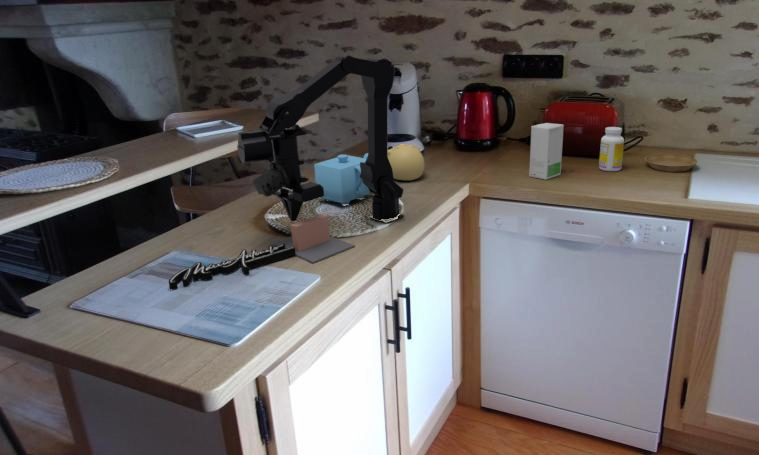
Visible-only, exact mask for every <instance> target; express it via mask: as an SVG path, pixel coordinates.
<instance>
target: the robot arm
mask: <svg viewBox="0 0 759 455" xmlns="http://www.w3.org/2000/svg"><path fill="white" fill-rule="evenodd" d="M395 69H396V68H395V65H394V64H393V63H392V62H391V60H389V59H387V58H382V57H381V58H379V57H367V58H366V59H364V58H358V57H354V56H352V55H348V54H339V55H337V56H336V57H335V58H334V60H332V61H330V63H328V64H327V65H326V66H325V67H323V68H322V69H320V71H318V72H317V73H315V75H313V76H312V77H311V78H309V79H308V80H307V81H306V82H304V83H303V84H302V85H300V86H299V87H298V88H297V89H294V90H292V91H290V92H288V93H284V94H282V95H280V96H279V97H277V98H274V99H272V100H271V101H270V102H269V103H268V104H267V105H266V107H265V108H266V109H265V116H264V117H263V119H262V121H261V123H260V125H259V126H258V127H257V129H258V130H251V131H239V132H238V139H237V146H236V148H237V152H238V153H237V154H238V156H239V157H238V158H239V160H240V163H241V164H242V165H243V164H250V163H256V162H262V161H268V160H269V158H271V157H272V156H273V160H272V161H270V163H269V170H267V171H265V172H263V173H262V174H260V175H259V176H257V177H256V178H254V180H252V184H253V186H254V188H255V189H256V191H257V194H258V195H262V196H264V197H271V196H275V197H276V198H277V199H279V200H280V201H281V203H282V205H283V207H284V209H285V211H286V214H287V215H288V217H289V218H288V219H289V220H290V221H291V222H295V221H297V219H298V217H299V214H300V211H301V208H302V206H303V204H304V203H307V202H310V201H314V200H317V199H319V198H320V197H323V196H324V187H322V186H321V185H320V184H317V183H316V182H313V181H309V182H306V176H302V171H301V165H304V164H305V162H304V159H303V158H300V153H299V140H298V137H301V136H305V135H307V131H305V130H304V129H302V127H301V126H300V125H299V124H297V123H298V122H299V121H300V120H301V118H303V116H304V115H305V113H306V112H307V110H308V108H309V107H310V106H311V105H312V104H314V102H315V101H317V100H318V99H319V98H320V97H322V96H323V95H325V93H326V92H328V91H330V89H331V88H334V86H335V85H337V84H338V83H339V82H341V81H342V80H343V79H344V78H346V77H347V76H348V75H351V74H352V75H357V76H361V81H362V82H361V83H362V87H363V88H364V92H365V93H366V98H367V140H368V141H367V151H368V152H367V153H368V157H367V159H366V161H365V162H360V168H361V174H360V178H361V179H362V182H363V184H364V185H365V186H366V187H368V188H369V191H370V192H371V193H370V194H373V196H372V202H371V208H372V209H371V210H372V215H373V218H375V219H378V220H381V219H389V218H394V217H396V216H397V215H398V214H400V215H399V216H398V219H397V220H399V219H403V218H404V217H405V216H404V214H403V213H400V199H401V198H402V196H403V194H404V189H403V188H402V187H401V186H400V185H399V184H398V183H397V182H395V179H394V176H393V170H392V167H391V164H390V162H389V159H388V156H387V150H388V99H389V95H390V93H391V90H392V88H393V87H394V80H395V75H396V74H395V73H396V71H395ZM304 182H306V183H304Z"/></svg>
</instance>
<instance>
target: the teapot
mask: <svg viewBox="0 0 759 455" xmlns="http://www.w3.org/2000/svg"><path fill="white" fill-rule="evenodd" d="M367 157H368V152H367V153H364V155H363V158H362V157H358V156H353V155H349V154H338V155H337V156H336V157H334V158H330V159H327V160H324V161H320V162H318V163H314V164H313V166H314V178H315V183H317V184H320V185H321V186H322V187H324V196H323V197H320V198H322V199H325V201H326V200H328V201H333V202H335V203H340V205H341V204H349V203H350V204H351V201H353V200H356V199H357V198H364V197H365V196H367V195H369V194H372V193H371V192H370V191H369V188H368V187H366V186H365V185H364V184H363V182H362V179H361V178H360V174H361V168H360V162H365V161H366V159H367Z"/></svg>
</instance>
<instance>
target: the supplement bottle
mask: <svg viewBox="0 0 759 455" xmlns="http://www.w3.org/2000/svg"><path fill="white" fill-rule="evenodd" d="M604 132H605V134H604V135H603V136H602V137H601V139H600V150H599V158H598V160H599V161H598V168H599V169H600V170H601V171H604V172H618V171H620V170H622V168H623V167H622V166H623V165H622V164H623V157H624V148H625V139H624V137H623V136H622V135H621V134H622V132H623V128H622V127H617V126H607V127H605V130H604Z"/></svg>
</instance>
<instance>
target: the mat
mask: <svg viewBox="0 0 759 455" xmlns="http://www.w3.org/2000/svg"><path fill="white" fill-rule="evenodd" d="M281 244H285V249H286V248H289V247H293V241H292V235H291V236H289V237H285V238H282V239H281V240H277V241H274V242H271V244H270V246H273V247H277V246H279V245H281ZM355 247H356V245H355V244H353V243H350V242H347V241H344V240H342V239H339V238H337V237H334V236H332V237H330V240H328V241H326V242H323V243H321V244H318V245H315V246H313V247H310V248H307V249H305V250H302V251H300V252H298V251H296V250H295V253H296V254H295V255H294V256H295V257H298V258H299V259H302V260H304V261H306V262H309V263H311V264H316V263H319V262H322V261H324V260H326V259H329V258H330V257H333V256H336V255H338V254H341V253H343V252H346V251H348V250H351V249H354V248H355Z"/></svg>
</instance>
